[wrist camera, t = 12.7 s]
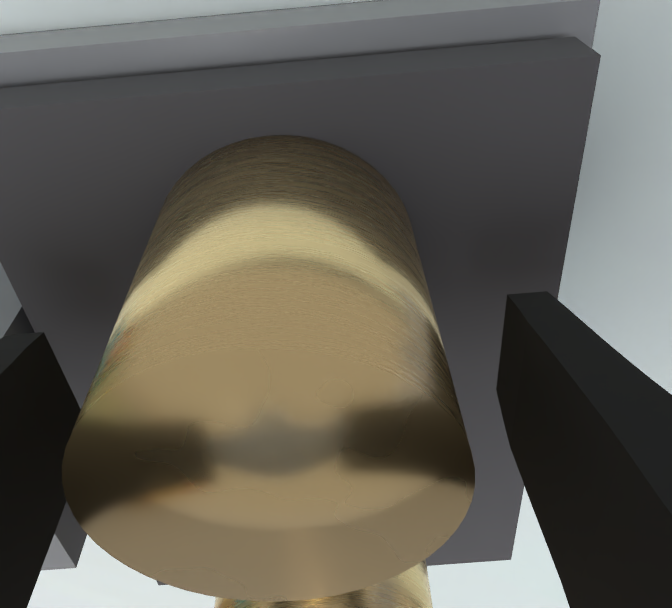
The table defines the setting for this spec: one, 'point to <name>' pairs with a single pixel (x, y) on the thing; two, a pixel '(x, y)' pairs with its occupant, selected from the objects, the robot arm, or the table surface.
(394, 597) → the cylinder
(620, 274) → the table surface
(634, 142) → the table surface
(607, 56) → the table surface
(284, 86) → the scale pan
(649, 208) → the table surface
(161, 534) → the cylinder
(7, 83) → the scale
